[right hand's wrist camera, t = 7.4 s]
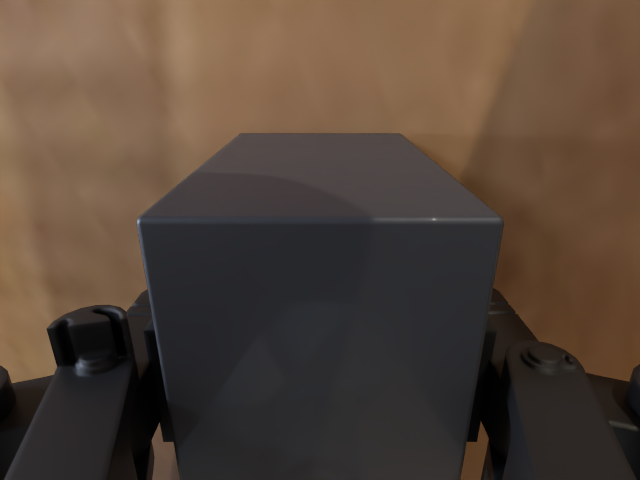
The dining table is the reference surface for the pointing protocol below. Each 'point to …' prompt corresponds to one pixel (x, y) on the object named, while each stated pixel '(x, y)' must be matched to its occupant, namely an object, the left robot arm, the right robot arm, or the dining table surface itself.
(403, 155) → the beam
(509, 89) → the dining table surface
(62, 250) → the dining table surface
